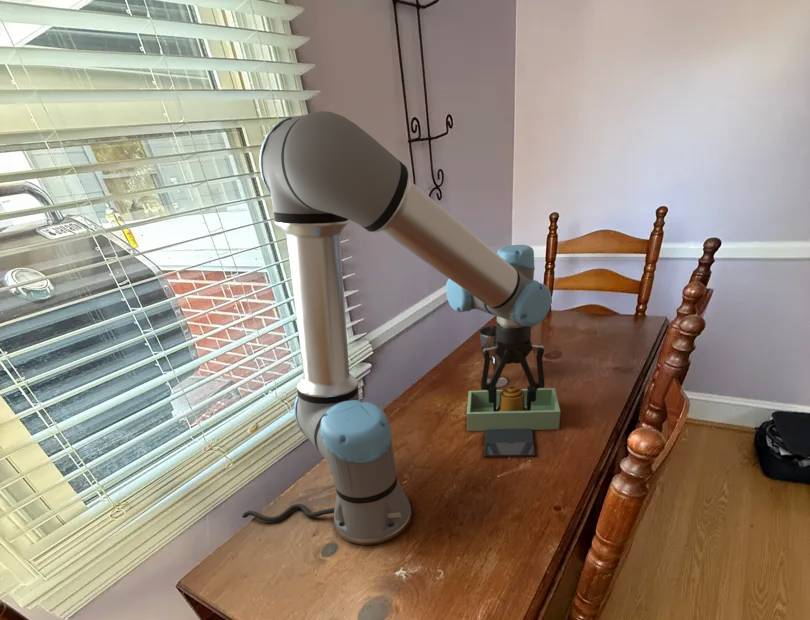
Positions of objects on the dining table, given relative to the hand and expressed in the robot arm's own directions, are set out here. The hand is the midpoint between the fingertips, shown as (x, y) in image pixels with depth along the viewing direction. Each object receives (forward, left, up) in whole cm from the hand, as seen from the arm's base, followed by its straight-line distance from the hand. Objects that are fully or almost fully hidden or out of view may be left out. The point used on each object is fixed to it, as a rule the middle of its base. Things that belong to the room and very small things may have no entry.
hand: (511, 412), depth 119 cm
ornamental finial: (0, 0, -1) cm, 1 cm away
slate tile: (-1, -12, -1) cm, 12 cm away
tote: (0, 0, -1) cm, 1 cm away
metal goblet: (-4, +21, -2) cm, 21 cm away
